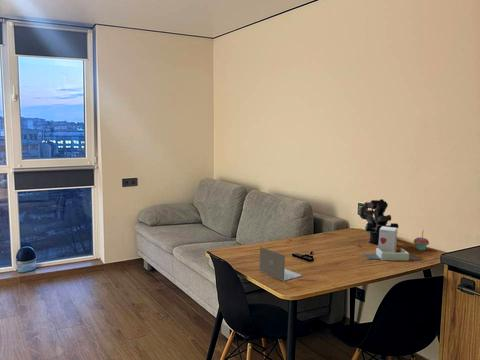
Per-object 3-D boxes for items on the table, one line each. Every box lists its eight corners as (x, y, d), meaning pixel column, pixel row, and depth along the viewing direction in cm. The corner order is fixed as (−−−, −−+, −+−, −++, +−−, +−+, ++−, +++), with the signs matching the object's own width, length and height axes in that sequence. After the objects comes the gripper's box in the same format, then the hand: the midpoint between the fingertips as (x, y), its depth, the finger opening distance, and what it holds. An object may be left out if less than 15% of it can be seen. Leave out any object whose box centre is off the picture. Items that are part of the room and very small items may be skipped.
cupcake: (415, 246, 269) (416, 227, 268) (429, 248, 265) (431, 229, 263) (411, 249, 262) (413, 230, 261) (426, 252, 257) (428, 232, 256)
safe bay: (363, 254, 250) (364, 247, 250) (414, 255, 250) (414, 248, 249) (368, 259, 240) (369, 252, 240) (421, 260, 240) (421, 253, 239)
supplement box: (377, 254, 252) (378, 228, 250) (380, 250, 260) (381, 225, 258) (394, 256, 247) (395, 230, 246) (396, 252, 255) (397, 227, 254)
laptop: (302, 276, 212) (303, 250, 210) (283, 282, 204) (284, 255, 203) (277, 267, 226) (278, 242, 225) (259, 271, 219) (259, 246, 217)
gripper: (367, 209, 263) (371, 231, 253) (398, 210, 262) (403, 232, 253) (363, 220, 271) (367, 241, 262) (393, 220, 271) (398, 242, 261)
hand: (384, 239), depth 259 cm, fingers closed
